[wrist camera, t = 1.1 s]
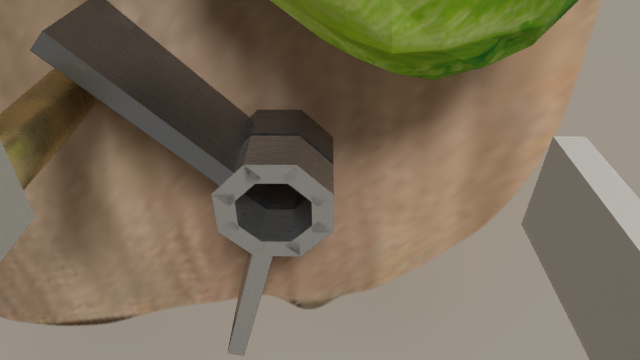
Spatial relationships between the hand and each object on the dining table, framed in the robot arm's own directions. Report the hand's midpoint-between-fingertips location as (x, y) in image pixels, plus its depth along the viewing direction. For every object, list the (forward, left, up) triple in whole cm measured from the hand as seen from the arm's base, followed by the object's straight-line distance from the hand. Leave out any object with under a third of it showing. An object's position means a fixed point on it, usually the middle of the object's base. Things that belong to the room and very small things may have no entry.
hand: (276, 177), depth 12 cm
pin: (-7, -20, -25) cm, 33 cm away
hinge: (+5, -19, -25) cm, 32 cm away
